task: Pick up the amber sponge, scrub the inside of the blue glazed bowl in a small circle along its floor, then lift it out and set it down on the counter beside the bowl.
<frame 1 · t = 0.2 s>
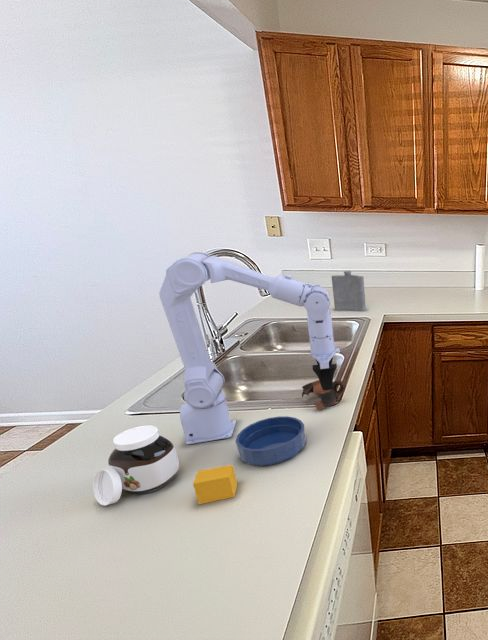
hand: (326, 383, 105), 10 cm above the table, tool pointing down, fingers open, 7 cm apart
hip flask: (350, 309, 206), on the table
sponge: (218, 494, 79), on the table
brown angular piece: (325, 402, 115), on the table
bowl: (274, 448, 94), on the table
spread jar: (140, 489, 80), on the table
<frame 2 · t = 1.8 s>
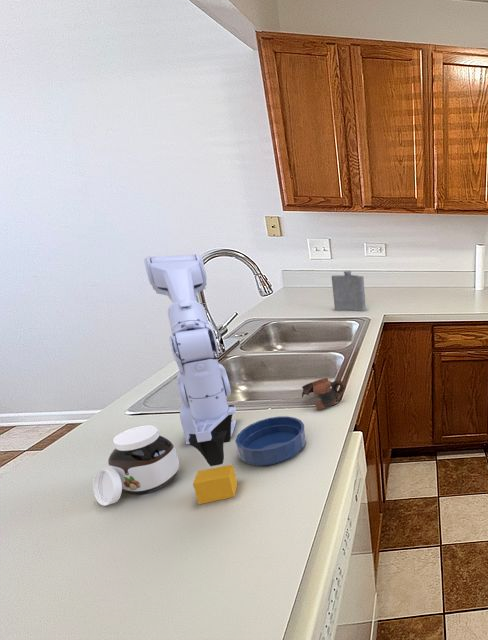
hand: (220, 452, 78), 8 cm above the table, tool pointing down, fingers open, 7 cm apart
nothing on the table moved.
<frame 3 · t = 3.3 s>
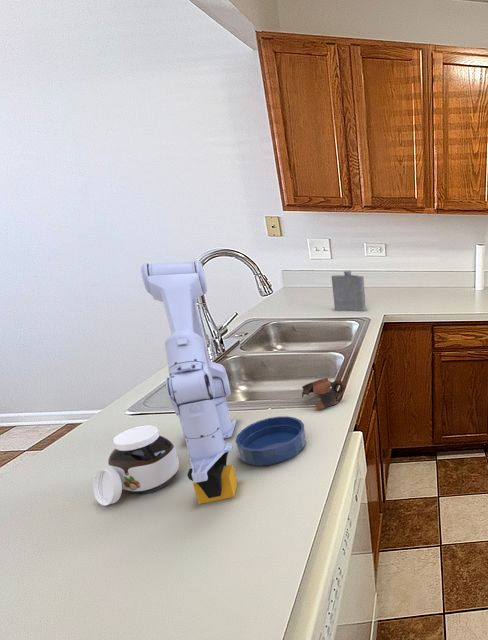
hand: (217, 488, 79), 1 cm above the table, tool pointing down, fingers closed on sponge, 4 cm apart
sponge: (218, 493, 79), on the table, touching gripper
everything else where it was.
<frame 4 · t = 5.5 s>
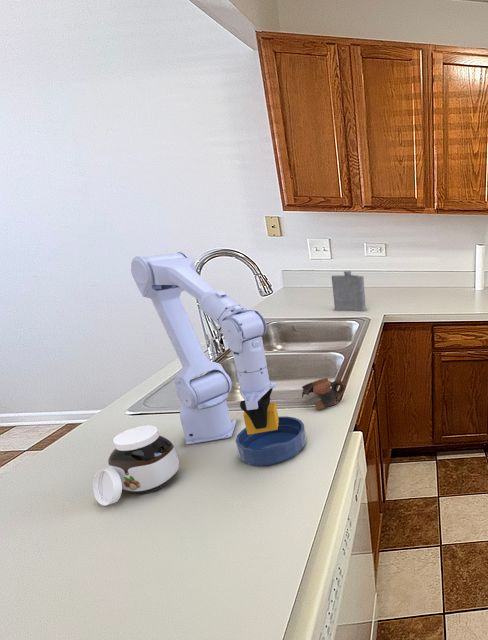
hand: (262, 422, 89), 8 cm above the table, tool pointing down, fingers closed on sponge, 4 cm apart
sponge: (263, 427, 90), point 7 cm above the table, touching gripper
everything else where it was.
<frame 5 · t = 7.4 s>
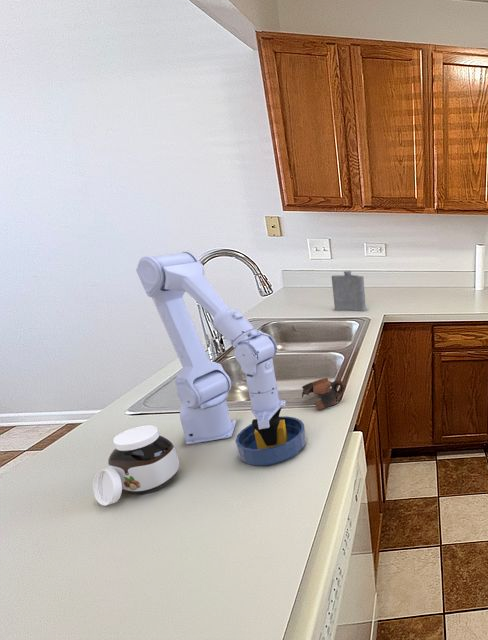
hand: (272, 439, 94), 2 cm above the table, tool pointing down, fingers closed on sponge, 4 cm apart
sponge: (273, 443, 94), point 1 cm above the table, touching gripper
everything else where it was.
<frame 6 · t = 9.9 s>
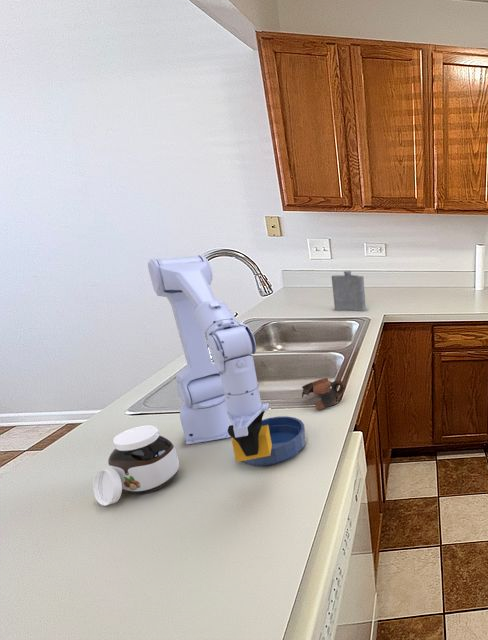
hand: (253, 448, 80), 8 cm above the table, tool pointing down, fingers closed on sponge, 4 cm apart
sponge: (254, 453, 81), point 7 cm above the table, touching gripper
everything else where it was.
when the fingers open (1 cm above the table, at t = 11.9 s): sponge stays where it is, on the table.
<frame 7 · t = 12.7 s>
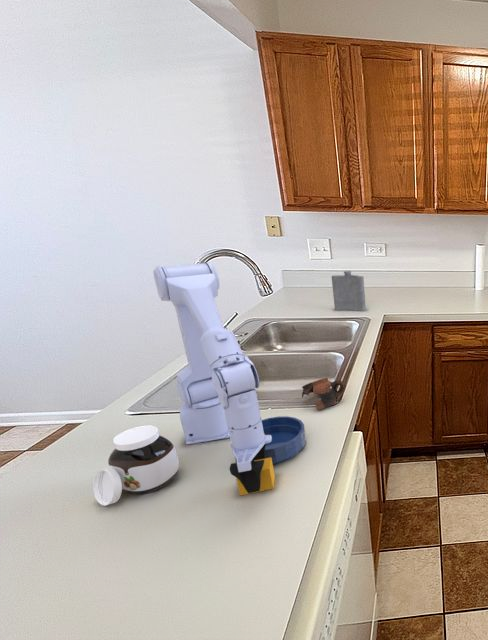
hand: (256, 478, 81), 2 cm above the table, tool pointing down, fingers open, 7 cm apart
sponge: (258, 485, 82), on the table
everything else where it was.
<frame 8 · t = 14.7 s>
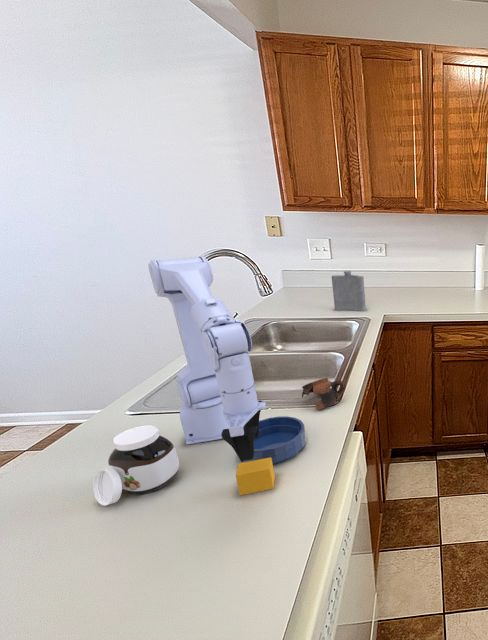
hand: (250, 447, 79), 9 cm above the table, tool pointing down, fingers open, 7 cm apart
nothing on the table moved.
at the end: sponge 0.0 cm from the target spot, on the table; the gripper is holding nothing; sponge tilted 0° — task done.
